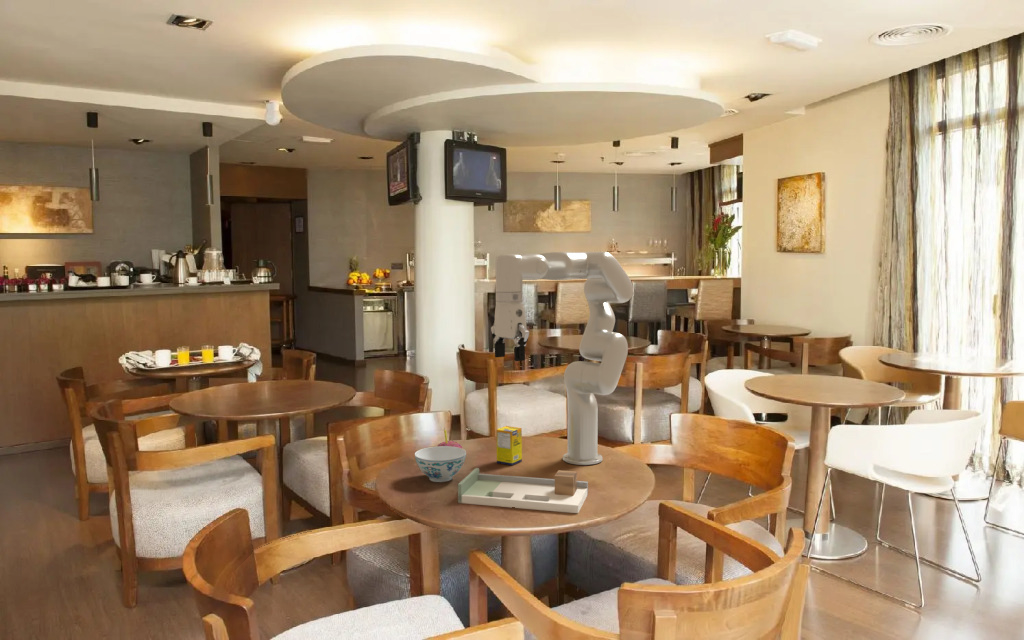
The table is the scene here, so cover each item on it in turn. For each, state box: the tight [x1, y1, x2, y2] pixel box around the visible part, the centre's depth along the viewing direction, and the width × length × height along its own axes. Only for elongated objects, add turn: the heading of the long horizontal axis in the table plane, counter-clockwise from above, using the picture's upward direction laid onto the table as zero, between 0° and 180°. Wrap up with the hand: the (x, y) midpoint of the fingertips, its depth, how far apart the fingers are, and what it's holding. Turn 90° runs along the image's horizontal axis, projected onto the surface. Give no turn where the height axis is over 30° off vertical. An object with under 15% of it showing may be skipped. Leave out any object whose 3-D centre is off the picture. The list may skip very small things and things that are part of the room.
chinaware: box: [414, 445, 467, 483], centre depth 206 cm, size 15×15×8 cm
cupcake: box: [437, 427, 463, 449], centre depth 221 cm, size 9×8×12 cm
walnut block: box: [554, 469, 578, 496], centre depth 187 cm, size 5×5×5 cm
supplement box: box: [495, 425, 523, 466], centre depth 222 cm, size 6×6×11 cm
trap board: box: [457, 467, 589, 514], centre depth 188 cm, size 15×32×5 cm, turn 75°
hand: (509, 358), depth 199 cm, fingers open, 9 cm apart
